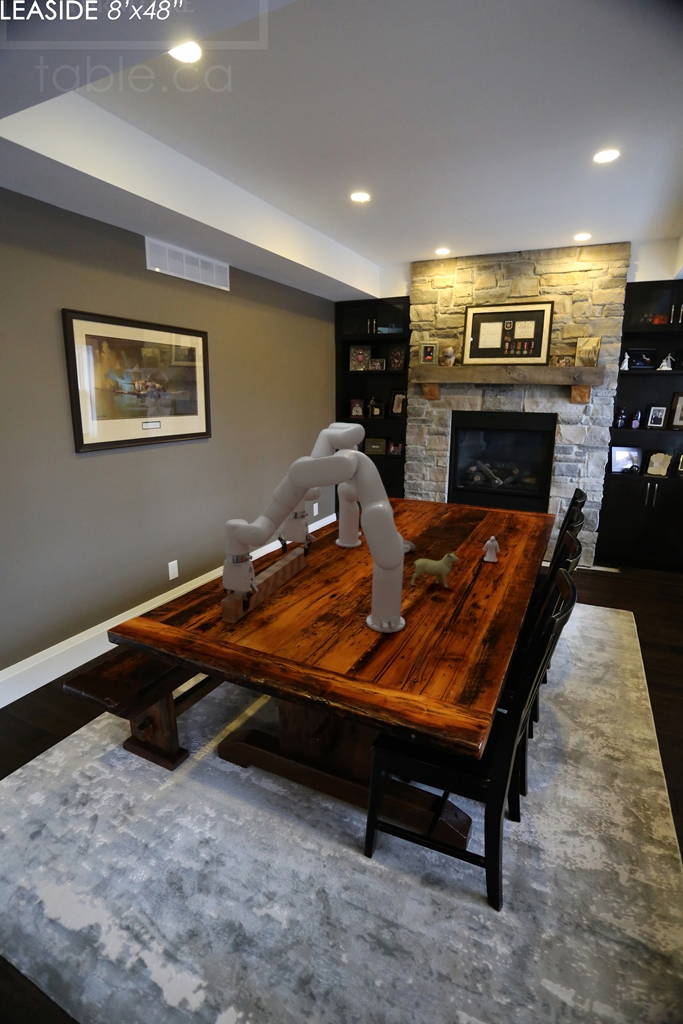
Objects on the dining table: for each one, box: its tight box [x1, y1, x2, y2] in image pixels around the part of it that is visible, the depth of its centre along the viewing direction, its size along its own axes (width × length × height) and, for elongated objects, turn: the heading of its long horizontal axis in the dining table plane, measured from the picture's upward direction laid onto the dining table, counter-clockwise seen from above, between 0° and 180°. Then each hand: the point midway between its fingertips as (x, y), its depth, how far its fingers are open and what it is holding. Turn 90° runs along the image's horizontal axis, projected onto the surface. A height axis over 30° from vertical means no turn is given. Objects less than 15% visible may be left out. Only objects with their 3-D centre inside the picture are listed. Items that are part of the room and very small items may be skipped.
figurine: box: [482, 535, 501, 563], centre depth 223 cm, size 8×8×12 cm
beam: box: [220, 547, 309, 624], centre depth 188 cm, size 59×4×7 cm, turn 160°
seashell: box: [403, 539, 417, 554], centre depth 234 cm, size 8×5×8 cm
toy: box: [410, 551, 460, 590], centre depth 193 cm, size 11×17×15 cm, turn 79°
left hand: (295, 554), depth 208 cm, fingers open, 9 cm apart
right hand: (239, 608), depth 168 cm, fingers closed on beam, 4 cm apart
